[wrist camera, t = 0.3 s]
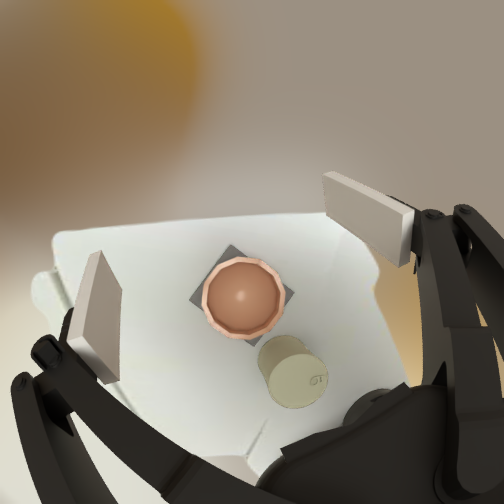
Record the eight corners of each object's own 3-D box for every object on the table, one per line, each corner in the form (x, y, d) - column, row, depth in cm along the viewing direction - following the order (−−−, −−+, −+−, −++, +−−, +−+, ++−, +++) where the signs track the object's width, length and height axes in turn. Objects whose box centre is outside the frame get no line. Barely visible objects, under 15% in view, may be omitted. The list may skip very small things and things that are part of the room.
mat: (294, 292, 51) (294, 292, 51) (253, 346, 50) (253, 346, 49) (230, 244, 50) (230, 244, 50) (189, 299, 49) (188, 300, 49)
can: (308, 377, 51) (329, 403, 39) (260, 384, 50) (270, 414, 38) (306, 332, 51) (329, 349, 39) (255, 338, 50) (266, 359, 38)
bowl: (295, 288, 51) (300, 289, 47) (250, 348, 49) (252, 354, 46) (234, 242, 50) (235, 240, 47) (188, 304, 49) (185, 307, 45)
